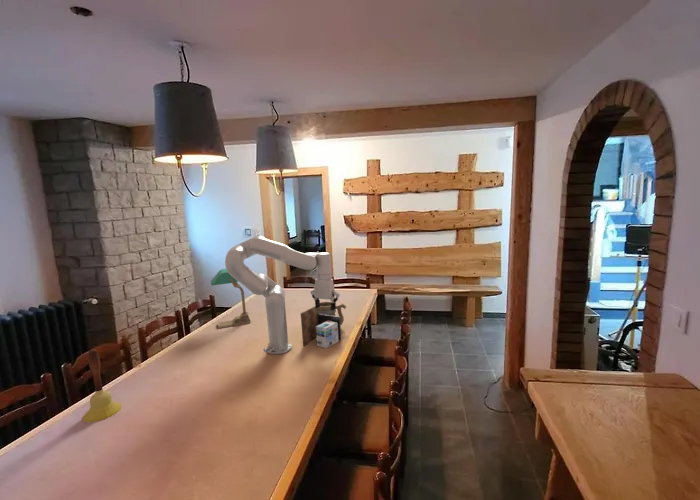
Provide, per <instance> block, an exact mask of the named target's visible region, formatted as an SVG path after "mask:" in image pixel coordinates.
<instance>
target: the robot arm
mask: <svg viewBox="0 0 700 500" xmlns="http://www.w3.org/2000/svg"><path fill="white" fill-rule="evenodd" d="M255 255H259V256H263V257H265V258H269V259H273V260H277V261H279V262H281V263H284V264H287V265H289V266H293V267H296V268H298V269H302V270H306V271H310V270H313V269H315V268H316V273H315V275H314V276H315V277H316V278H315V280H314V287H313V288H314V289H313V290H311V291H310V294H311V297H312V299H313V301H314V306H316V308H318V307H320V301H321V300H330V302H332V303H331V310H332V311H333V310H335V309H336V306H337V301H338V300H339V298H340V296H341V295H340V293H338V292H336V291H335V284H334V280H333V277H332V260H331V259H332V256H331V254H330V253H329V252H325V251H324V252H323V251H322V252H305V253H304V252H300V251H297V250H295V249H293V248H291V247H289V246H288V245H286V244H284V243H281V242H278V241H274V240H270V239H269V238H266V237H265V236H263V235H255V236H253V237H251V238H249V239H246V240H244V241H242V242H241V243H238V244H235V245H234V246H232V247H231V248H230V249H229V250H228V251H227V253H226V255H225V261H224V265H225V269H227V271H228V273H229V274H230V275H231V276H232V277H233V278H235V279H236V280H237V281H238V283H239V284H241V285H242V286H244V287H245V289H247V290H248V291H250V292H251V293H252V294H253V295H255V296H263V297H264V298H265V311H266V318H267V331H268V342H269V343H268V344H267V345H268V346H267V347H264V348H263V352H264V353H269V354H270V355H271V354H272V355H280V354H281V355H282V354H286V353H288V352H290V351H291V350H292V344H291V343H290V342H289V336H288V321H287V311H286V310H287V309H286V293H285V290H284V288H283V287H282V286H281V285H279V284H278V283H277V282H275V281H274V280H273V279H272V278H270V277H269V276H268V275H266V274H265V273H261V272H258V273H256V271H254V270H253V269H252V268H251V267H248V266H247V265H246V264H245V263H244V262H245V260H246V259H249V258H251V257H252V256H255ZM336 310H337V309H336Z"/></svg>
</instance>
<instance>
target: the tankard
mask: <svg viewBox="0 0 700 500" xmlns="http://www.w3.org/2000/svg"><path fill="white" fill-rule="evenodd" d="M331 303H332V302H331V301H323V302H322V301H321V302H320V307H318V310H319V314H324V315H331V316H337V315H336V312H337V314H338V317H340V324H341V326H342V325H343V323H344V321H345V320H344V315H343V311H342V309H344V310H345V309H346V308H347V305H345V304H344V303H341V304H339V305H336V309H335V310H333V311H332V310H331Z"/></svg>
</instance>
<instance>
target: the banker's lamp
mask: <svg viewBox="0 0 700 500" xmlns="http://www.w3.org/2000/svg"><path fill="white" fill-rule="evenodd" d="M227 284H232V285H233V287H234V288H236V289H237V288H238V289H239V290H240V294H241V304H242V305H241V306H242V313H240V315H237V316H235V317H234V318H232V319H231V320H227V321H217V327H218V329H224V328H230V327H235V326H242V325H247V324H252V323H251V319H250V317H249V312H247V311H246V302H245V301H246V300H245V292H244V288H243V287H242V286H241V285H240V283H239V281H237V280H236V279H235V278H233V277H232V276H231V275H230V274H229V273H228V271H227V269H226V268H222V269H220V270H219V271H218V272H217V273H216V274H215V275H214V277H213V278H212V279H211V280H210V286H218V285H227Z"/></svg>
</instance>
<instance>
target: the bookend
mask: <svg viewBox="0 0 700 500" xmlns="http://www.w3.org/2000/svg"><path fill="white" fill-rule="evenodd" d="M318 320H319V325H320V324H322V323H324V322H326V321H333V322H337V323H338V341H342V328H341V326H342V325H341V324H340V317H339V315H338V316H337V315H336V316H331V315H324V314H318Z"/></svg>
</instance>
